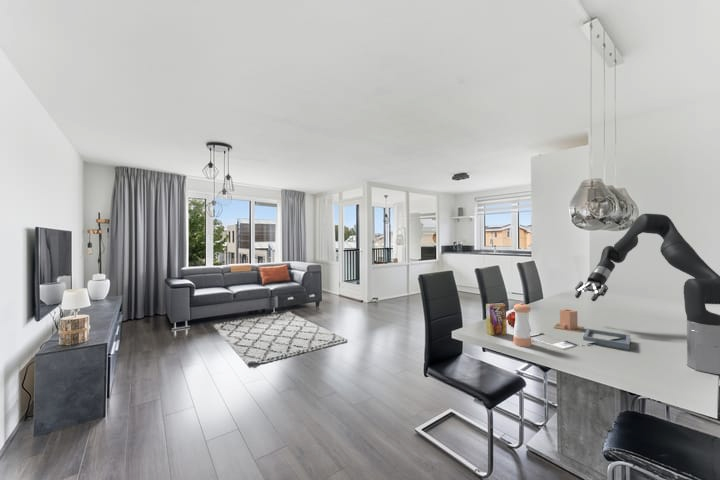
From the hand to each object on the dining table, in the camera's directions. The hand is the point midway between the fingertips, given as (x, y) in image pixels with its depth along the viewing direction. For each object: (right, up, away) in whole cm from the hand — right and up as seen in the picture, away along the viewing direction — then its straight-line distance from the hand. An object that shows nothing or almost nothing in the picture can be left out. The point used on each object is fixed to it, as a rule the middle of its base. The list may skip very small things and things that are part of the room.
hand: (584, 298), depth 163 cm
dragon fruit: (-34, -17, +5) cm, 38 cm away
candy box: (-50, -17, -7) cm, 53 cm away
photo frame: (-28, -17, -18) cm, 38 cm away
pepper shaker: (-45, -17, -22) cm, 53 cm away
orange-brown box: (-11, -14, -3) cm, 18 cm away
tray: (-6, -16, -22) cm, 27 cm away
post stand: (-11, -16, -3) cm, 20 cm away
